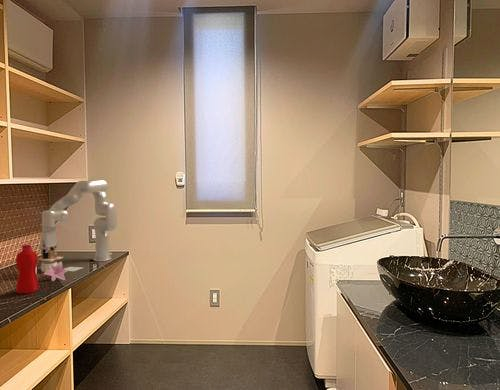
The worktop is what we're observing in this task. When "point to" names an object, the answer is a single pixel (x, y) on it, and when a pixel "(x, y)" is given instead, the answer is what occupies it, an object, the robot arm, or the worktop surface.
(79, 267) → the mat
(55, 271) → the lily
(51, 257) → the lid
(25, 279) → the water bottle
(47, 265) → the bowl
